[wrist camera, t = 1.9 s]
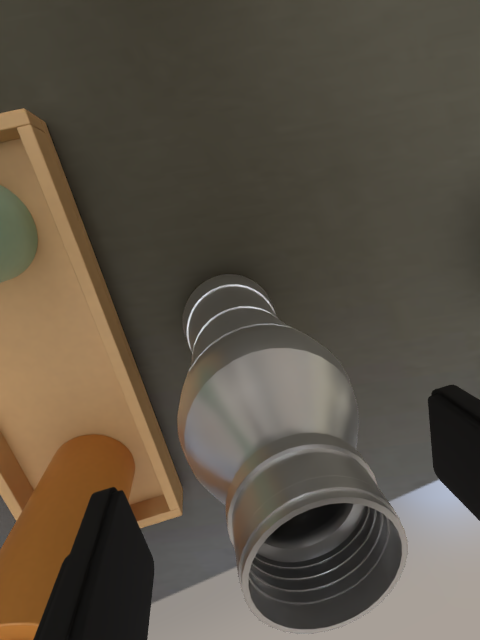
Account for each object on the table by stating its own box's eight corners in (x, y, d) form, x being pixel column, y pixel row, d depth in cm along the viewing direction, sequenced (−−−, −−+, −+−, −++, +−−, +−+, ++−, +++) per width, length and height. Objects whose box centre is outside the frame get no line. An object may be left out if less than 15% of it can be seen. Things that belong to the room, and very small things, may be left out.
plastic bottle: (188, 358, 26) (188, 712, 7) (177, 272, 24) (135, 459, 5) (268, 347, 27) (454, 645, 8) (264, 263, 25) (495, 401, 6)
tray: (-151, 166, 20) (-204, 157, 17) (45, 121, 21) (24, 107, 18) (53, 529, 29) (39, 560, 26) (183, 489, 30) (182, 515, 27)
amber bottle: (37, 447, 26) (-417, 1136, 6) (119, 424, 26) (-77, 1003, 7) (70, 509, 28) (-203, 1177, 8) (145, 486, 28) (51, 1072, 9)
